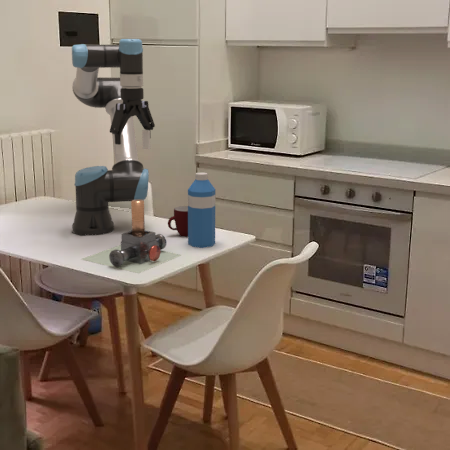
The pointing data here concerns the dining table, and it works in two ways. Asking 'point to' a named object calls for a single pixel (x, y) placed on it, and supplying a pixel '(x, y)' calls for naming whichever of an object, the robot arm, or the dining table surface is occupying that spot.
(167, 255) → the mat
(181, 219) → the mug
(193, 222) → the water bottle
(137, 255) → the metal mallet head
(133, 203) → the brown mallet handle
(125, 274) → the dining table surface
